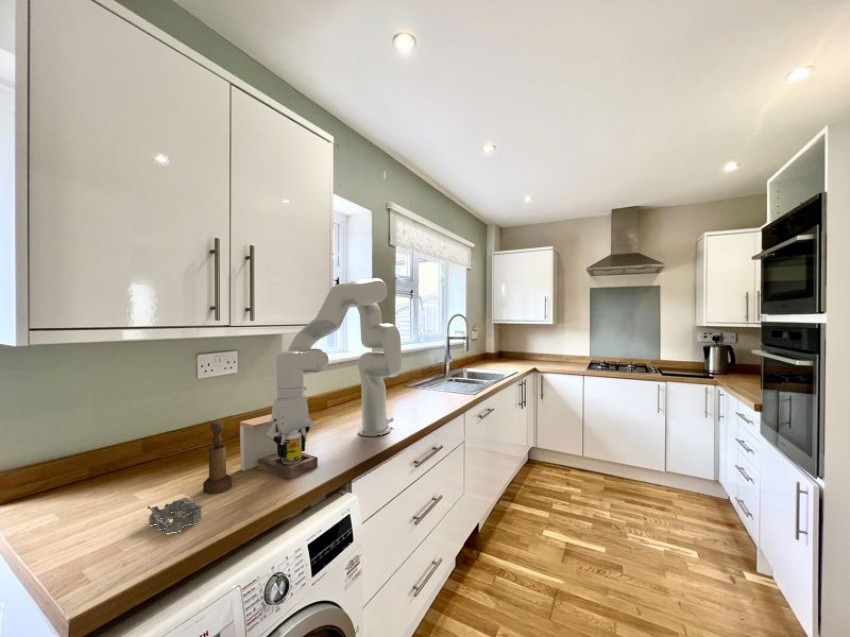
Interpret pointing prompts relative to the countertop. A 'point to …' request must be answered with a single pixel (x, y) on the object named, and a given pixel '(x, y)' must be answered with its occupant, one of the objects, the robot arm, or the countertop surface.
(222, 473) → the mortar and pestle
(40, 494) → the countertop surface
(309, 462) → the socket block
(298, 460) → the supplement bottle
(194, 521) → the egg carton
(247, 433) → the pink-topped white panel
